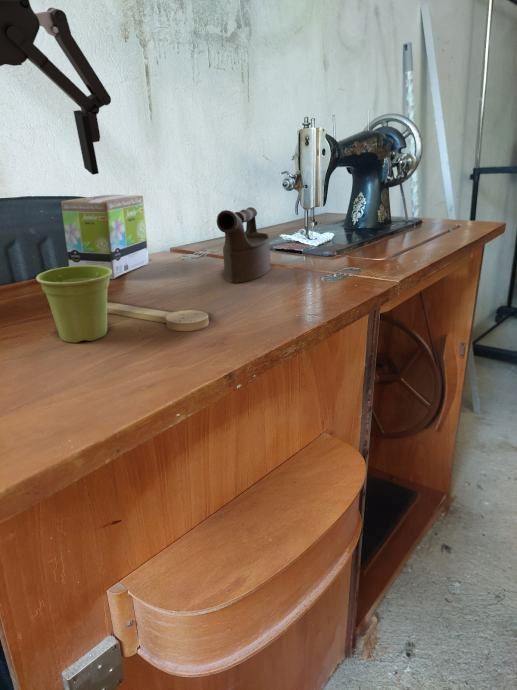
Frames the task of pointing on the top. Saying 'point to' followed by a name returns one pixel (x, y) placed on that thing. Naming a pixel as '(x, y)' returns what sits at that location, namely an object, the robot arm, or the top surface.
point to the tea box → (106, 232)
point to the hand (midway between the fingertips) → (34, 182)
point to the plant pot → (78, 300)
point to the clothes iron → (243, 246)
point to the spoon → (163, 316)
